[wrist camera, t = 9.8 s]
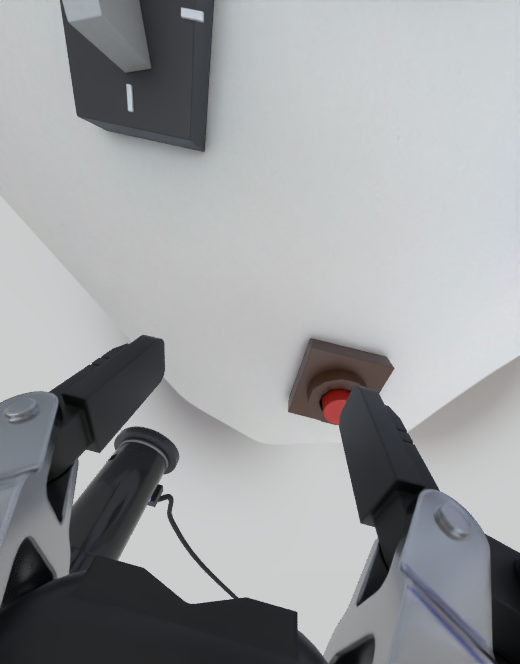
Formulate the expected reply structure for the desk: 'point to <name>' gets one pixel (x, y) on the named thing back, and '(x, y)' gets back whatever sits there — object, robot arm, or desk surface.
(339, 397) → the power button
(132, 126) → the dial panel
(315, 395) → the button housing
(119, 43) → the dial
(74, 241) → the desk surface
